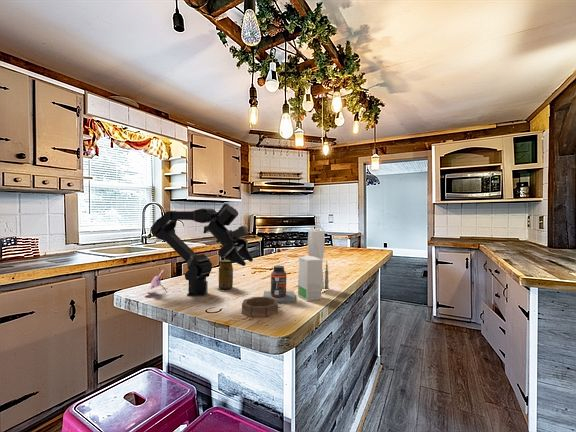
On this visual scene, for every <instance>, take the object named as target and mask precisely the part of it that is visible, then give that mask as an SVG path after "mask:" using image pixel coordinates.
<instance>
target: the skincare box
mask: <svg viewBox="0 0 576 432" xmlns="http://www.w3.org/2000/svg"><path fill="white" fill-rule="evenodd" d="M322 269H323V261H322V260H321V259H319V258H317V257H314V256H308V255H307V256H298V280H297V296H298V297H300V298H302V299H303V300H304V301H305V302H312V300H313V301H319V300H318V299H321V300H322V293H321V285H322Z"/></svg>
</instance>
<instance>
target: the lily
mask: <svg viewBox="0 0 576 432" xmlns="http://www.w3.org/2000/svg"><path fill="white" fill-rule="evenodd" d="M163 272H164V269H162V270H161V272H160V273H158V275H155V276H154V277H153V278H152V280H151V279H150V284H151V286H150V287H149V288H148V290H147V291H146V292H145V294H144V297H146V296H147V294H148V293H149V291H150V290H152V289H154V288H157V287H160V286H161V287H162V288H163V289H164V291H165V292H166V293H168V291H167V289H166V288H165V287H164V286H163V285H162V283H161V274H162V273H163Z"/></svg>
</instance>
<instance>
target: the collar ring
mask: <svg viewBox="0 0 576 432" xmlns="http://www.w3.org/2000/svg"><path fill="white" fill-rule="evenodd" d="M278 305H279V303H278V300H277V299H274V298H271V297H263V296H253V297H250V298H249V297H248V298H245V299H243V301H242V303H241V313H242V315H244V316H247V317H250V318H270V317H271V316H274V315H277V314H278V312H279V308H278V307H279V306H278Z"/></svg>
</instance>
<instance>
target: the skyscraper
mask: <svg viewBox="0 0 576 432" xmlns="http://www.w3.org/2000/svg"><path fill="white" fill-rule="evenodd" d="M316 227H317V228H316ZM307 232H308V233H307V236H308V237H307V256H314V257H317V258H319V259H321V260H322V262H323V261H324V257H325V256H324V254H325V246H326V245H325V243H326V241H325V239H326V238H325V230H324V228H323V227H321V226H319V225H311V226H310V228H309V229H308V231H307ZM325 262H326V263H325V270H324V269H323V268H322V285H321V291H322V289H324V288H325V289H329V290H330V287H329V270H328V260H326V261H325ZM323 270H324V271H323Z"/></svg>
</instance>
